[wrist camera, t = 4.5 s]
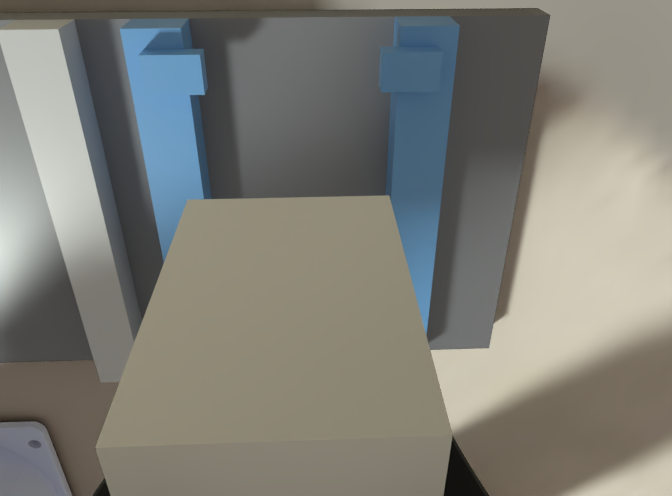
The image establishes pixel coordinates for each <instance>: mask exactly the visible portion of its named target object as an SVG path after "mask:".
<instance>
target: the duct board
mask: <svg viewBox="0 0 672 496" xmlns="http://www.w3.org/2000/svg"><path fill="white" fill-rule="evenodd" d="M549 19H550V15H549V14H547V13H545V12H544V11H542V10H540V9H538V8H521V9H520V8H516V9H515V8H513V9H395V10H391V9H390V10H270V11H149V12H28V13H0V363H5V362H39V361H72V360H94V363H95V366H96V369H97V373H98V376H99V379H100V383H111V382H120V379H121V377H122V374H123V371H124V369H125V366H126V363H127V361H128V358H129V355H130V353H131V350H132V347H133V345H134V342H135V339H136V337H137V334H138V331H139V328H140V326H141V323H142V320H143V318H144V315H145V312H146V310H147V307H148V304H149V302H150V299H151V296H152V294H153V291H154V288H155V285H156V283H157V280H158V277H159V275H160V272H161V269H162V267H163V264H164V261H165V259H166V256H167V253H168V251H169V248H170V245H171V243H172V240H173V237H174V234H175V232H176V229H177V226H178V224H179V221H180V218H181V216H182V213H183V210H184V208H185V205H186V202H187V200H194V199H242V198H290V197H338V196H385V195H389V196H390V200H391V204H392V208H393V212H394V215H395V219H396V223H397V227H398V230H399V234H400V238H401V242H402V246H403V249H404V253H405V257H406V261H407V264H408V268H409V272H410V276H411V280H412V283H413V287H414V291H415V295H416V298H417V302H418V306H419V310H420V314H421V317H422V321H423V325H424V329H425V332H426V336H427V340H428V344H429V348H430V350H441V349H474V348H489V345H490V340H491V334H492V329H493V323H494V318H495V312H496V307H497V302H498V296H499V291H500V285H501V280H502V274H503V269H504V263H505V258H506V253H507V247H508V242H509V236H510V231H511V225H512V220H513V215H514V209H515V204H516V198H517V193H518V187H519V182H520V177H521V171H522V166H523V160H524V155H525V149H526V144H527V139H528V133H529V128H530V122H531V117H532V111H533V106H534V101H535V95H536V90H537V84H538V79H539V73H540V68H541V63H542V57H543V52H544V46H545V41H546V35H547V30H548V24H549Z"/></svg>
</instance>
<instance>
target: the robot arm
mask: <svg viewBox="0 0 672 496" xmlns="http://www.w3.org/2000/svg"><path fill="white" fill-rule="evenodd" d="M0 496H72V494H71V491H70V488H69V486H68V483H67V481H66V478H65V475H64V473H63V470H62V468H61V465H60V462H59V460H58V457H57V455H56V452H55V449H54V447H53V444H52V442H51V439H50V436H49V434H48V431H47V429H46V427H45V426H44V425H43V424H41V423H39V422H34V421H28V422H0ZM93 496H111V495H110V492H109V489H108V486H107V483H106V480H105V479H104V480H103V481H102V483H101V484H100V486H99V487H98V489H97V490H96V492H95V493H94V494H93ZM443 496H489V495H488V493H487V492H486V490H485V489H484V487H483V486H482V484H481V482H480V481H479V479H478V478H477V476H476V475H475V473H474V471H473V470H472V468H471V467H470V465H469V463H468V462H467V460H466V458H465V457H464V455H463V453H462V452H461V450H460V448H459V446H458V445H457V443H456V441H455V439H454V438H453V436H452V443H451V450H450V456H449V463H448V469H447V476H446V482H445V489H444V495H443Z"/></svg>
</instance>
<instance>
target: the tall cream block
mask: <svg viewBox="0 0 672 496" xmlns="http://www.w3.org/2000/svg"><path fill="white" fill-rule="evenodd" d="M452 436H453V434H452V431H451V427H450V423H449V419H448V416H447V412H446V408H445V404H444V400H443V397H442V393H441V389H440V385H439V382H438V378H437V374H436V370H435V366H434V363H433V359H432V355H431V351H430V348H429V344H428V340H427V336H426V332H425V329H424V325H423V321H422V317H421V314H420V310H419V306H418V302H417V298H416V295H415V291H414V287H413V283H412V280H411V276H410V272H409V268H408V264H407V261H406V257H405V253H404V249H403V246H402V242H401V238H400V234H399V230H398V227H397V223H396V219H395V215H394V212H393V208H392V204H391V200H390V196H389V195H385V196H338V197H290V198H242V199H194V200H187V202H186V205H185V208H184V210H183V213H182V216H181V218H180V221H179V224H178V226H177V229H176V232H175V234H174V237H173V240H172V243H171V245H170V248H169V251H168V253H167V256H166V259H165V261H164V264H163V267H162V269H161V272H160V275H159V277H158V280H157V283H156V285H155V288H154V291H153V294H152V296H151V299H150V302H149V304H148V307H147V310H146V312H145V315H144V318H143V320H142V323H141V326H140V328H139V331H138V334H137V337H136V339H135V342H134V345H133V347H132V350H131V353H130V355H129V358H128V361H127V363H126V366H125V369H124V371H123V374H122V377H121V379H120V382H119V385H118V388H117V390H116V393H115V396H114V398H113V401H112V404H111V406H110V409H109V412H108V414H107V417H106V420H105V422H104V425H103V428H102V431H101V433H100V436H99V439H98V441H97V444H96V447H95V449H96V453H97V456H98V459H99V462H100V465H101V468H102V471H103V474H104V477H105V480H106V483H107V486H108V489H109V492H110V495H111V496H443V495H444V489H445V482H446V476H447V469H448V463H449V456H450V450H451V443H452Z"/></svg>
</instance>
